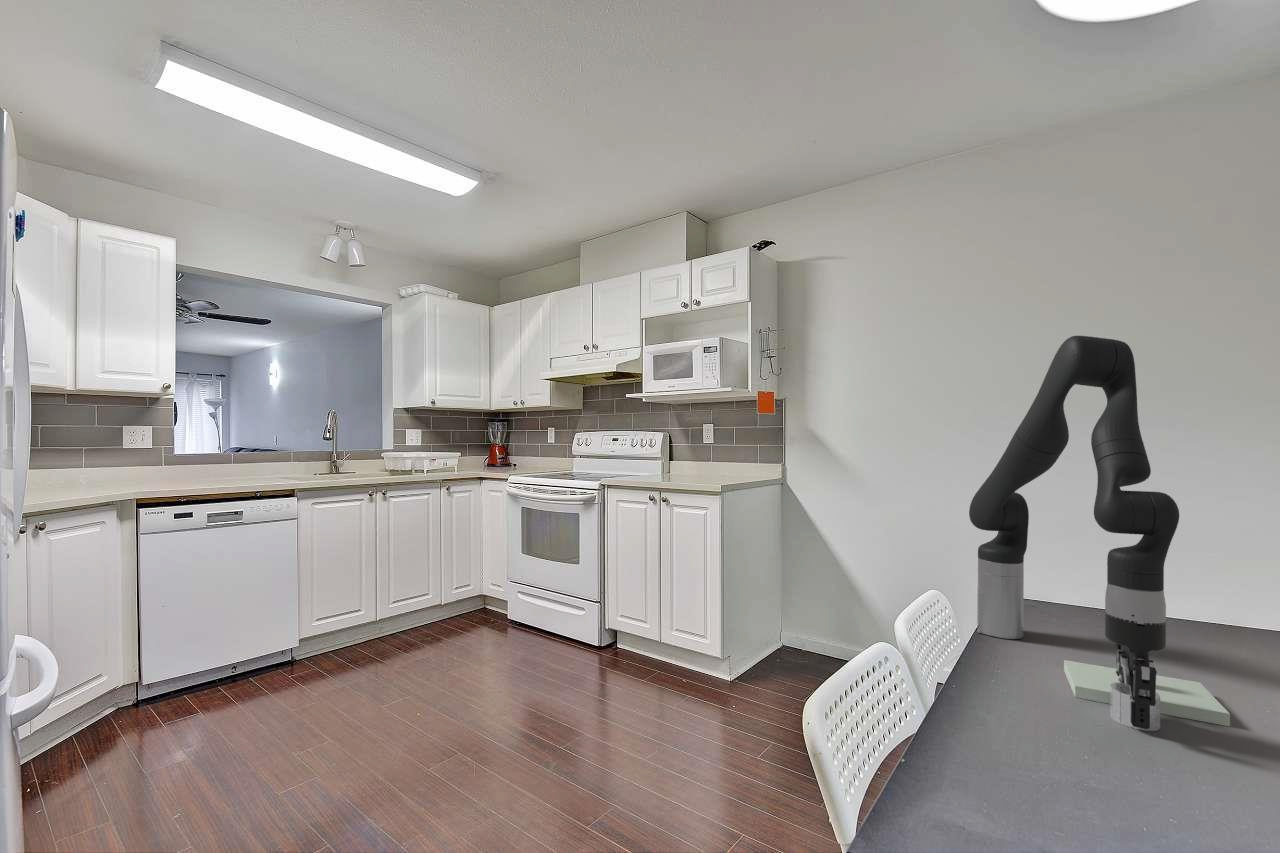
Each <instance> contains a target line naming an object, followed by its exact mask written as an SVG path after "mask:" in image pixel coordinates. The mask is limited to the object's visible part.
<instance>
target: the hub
mask: <svg viewBox="0 0 1280 853" xmlns="http://www.w3.org/2000/svg"><path fill="white" fill-rule="evenodd" d="M1139 695H1142V696H1146V695H1145V690H1142V689H1140V690H1139ZM1129 696H1130V691H1129V687H1128V686H1126V685H1125V683H1112V684H1110V704H1109V715H1110V718H1111V719H1112V720H1113V721H1115V722H1116V723H1117V724H1119V725H1122V726H1124V727H1128V728H1131V729H1135V730H1140V731H1144V732H1145V731H1146V732H1156V731H1158V730H1160V729H1161V713H1160V696H1159V694H1158V693H1157V692H1156V694H1155V701H1156V704H1155V706H1150V728H1149V729H1144V728H1139V727H1134V726H1133V725H1132V723H1131V700H1130V698H1129Z"/></svg>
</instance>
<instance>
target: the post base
mask: <svg viewBox="0 0 1280 853" xmlns="http://www.w3.org/2000/svg"><path fill="white" fill-rule="evenodd" d="M1063 671H1064V673H1065V677H1066V678H1067V681H1068V683H1069V686H1070V688H1071V691H1072V693H1073V695H1074V698H1077V699H1081V700H1083V699H1084V700H1088V701H1093V702H1099V703H1103V704H1109V705H1110V684H1112V683H1119V681H1118V678H1119V676H1117V674H1116V671H1117V668H1116V667H1115V668H1114V667H1107V666H1102V665H1097V664H1090V663H1083V662H1078V661H1072V660H1066V659H1064V660H1063ZM1156 692H1157V693H1158V694H1159V696H1160V715H1161V714H1162V715H1167V716H1172V717H1178V718H1183V719H1189V720H1194V721H1199V722H1204V723H1210V724H1214V725H1215V724H1216V725H1219V726H1226V727H1231V714H1230V712H1229V711H1228V710H1227V709H1226V708H1225V706H1223V705H1222V703H1220V702H1219V701H1218V700H1217V698H1215V697H1214V696H1213V694H1212V693H1211V692H1210V691H1209V690H1208V689H1207V688H1206V687H1205V686H1204V685H1203V684H1202V682H1200V681H1199V682H1198V681H1193V680H1188V679H1180V678H1174V677H1170V676H1169V677H1168V676H1163V675H1158V674H1156Z"/></svg>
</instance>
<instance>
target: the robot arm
mask: <svg viewBox="0 0 1280 853" xmlns="http://www.w3.org/2000/svg"><path fill="white" fill-rule="evenodd" d="M1054 354H1055V355H1054V357H1053V359H1052V361H1051V362H1050V364H1049V367H1048V368H1047V369H1048V370H1047V373H1046V374H1045V377H1044V379H1043V381H1042V383H1041V385H1040V388H1039V390H1038V392H1037V394H1036V396H1035V398H1034V400H1033V402H1032V403H1031V405H1030V406H1029V407H1030V408H1029V409H1028V411H1027V413H1026V414H1025V415H1024V417H1023V419H1022V421H1021V423H1020V424H1019V425H1018V427H1017V429H1016V430H1015V432H1014V433H1013V436H1012V437H1011V439H1010V441H1009V443H1008V445H1007V447H1006V448H1005V450H1004V452H1003V454H1002V456H1001V457H1000V458H999V460H998V462H997V464H996V466H995V467H994V469H993V470H992V471H991V473H990V475H989V476H988V477H987V478H986V479H985V481H984V482H983V483H982V485H981V486H980V487H979V488H978V490H977V491H976V493H975V494H974V496H973V497H972V498H971V502H970V506H969V511H968V512H969V513H968V514H969V515H968V516H969V520H970V522H971V524H972V525H973V526H974V527H975V528H977V529H979V530H982V531H988V532H997V535H996V536H995V537H994V538H993V539H991V540H990V541H987V542H985V543H982V544H980V545H979V546H978V548H977V595H976V596H977V599H976V600H977V601H976V602H977V603H976V604H977V608H976V611H977V613H976V614H977V615H976V616H977V617H976V619H977V620H976V621H977V622H976V623H977V625H976V628H978V626H979V625H980V626H979V628H978V630H977V633H978V634H984V635H986V636H990V637H994V638H999V639H1003V640H1006V639H1007V640H1019V639H1023V637H1024V597H1025V596H1024V593H1025V592H1024V587H1025V586H1024V580H1025V578H1024V575H1025V574H1024V569H1025V568H1024V563H1025V561H1024V559H1025V554H1026V552H1027V550H1028V549H1027V548H1028V536H1029V534H1028V532H1029V523H1030V522H1029V518H1030V516H1029V514H1030V513H1029V512H1030V511H1029V507H1028V503H1027V500H1026V499H1025V497H1024V496H1023V495H1022V494H1021V493H1018V492H1017V491H1018V490H1019V489H1021V488H1022V487H1024V486H1026V485H1027V484H1028V483H1030V482H1032V481H1033V480H1036V479H1038V478H1039V477H1041V476H1042V475H1044V474H1045V473H1046V472H1048V471H1049V470H1051V468H1053V466H1054V465H1055V463H1056V462H1057V461H1058V459H1059V457H1060V456H1061V455H1062V453H1063V452H1064V450H1065V449H1066V447H1067V445H1068V443H1069V438H1070V432H1069V427H1068V422H1067V419H1066V414H1065V409H1064V408H1065V406H1064V405H1065V404H1064V403H1065V400H1066V398H1067V396H1068V394H1069V392H1070V391H1071V389H1072V388H1073V387H1074V386H1075V385H1079V386H1086V387H1094V388H1095V387H1096V388H1102V390H1103V392H1104V394H1105V397H1106V406H1105V409H1104V410H1103V412H1102V413H1101V416H1100V417H1099V418H1098V420H1097V422H1096V423H1095V426H1094V427H1093V429H1092V433H1091V437H1090V439H1091V441H1090V442H1091V450H1092V454H1093V458H1094V463H1095V466H1096V467H1095V468H1096V472H1097V474H1096V475H1097V484H1096V485H1097V486H1096V494H1095V500H1094V505H1093V517H1094V520H1095V522H1096V523H1097V524H1098V526H1099V527H1100V528H1101V529H1102V530H1104V531H1106V532H1108V533H1113V534H1125V535H1126V534H1127V535H1139V536H1140V535H1142V537H1141V538H1140V540H1139V541H1137V543H1136V544H1134V545H1128V546H1121V547H1120V546H1119V547H1115V548H1112V549H1109V551H1108V553H1107V558H1106V560H1107V562H1106V566H1107V568H1106V570H1107V571H1106V575H1107V577H1106V578H1107V579H1106V581H1107V582H1106V583H1107V584H1106V590H1105V598H1104V599H1105V600H1104V602H1105V605H1104V614H1105V615H1104V617H1105V618H1104V621H1105V622H1104V627H1105V629H1104V634H1105V635H1104V636H1105V638H1106V639H1107V640H1108V641H1110V642H1111V643H1114V644H1115V648H1116V649H1115V650H1116V651H1115V656H1116V661H1115V662H1116V669H1117V671H1116V674H1117V676H1119V678H1118V681H1119V683H1125V685H1126V686H1128V687H1129V691H1130V696H1129V698H1130V700H1131V723H1132V725H1133V726H1134V727H1139V728H1144V729H1149V728H1150V706H1155V704H1156V701H1155V694H1156V675H1158V674H1157V673H1158V672H1157V669H1156V667H1155V665H1154V660H1153V659H1150V655H1149V652H1151V651H1157V652H1158V651H1162V650H1164V649H1165V648H1166V646H1167V604H1166V599H1165V598H1166V597H1165V590H1164V589H1165V588H1164V586H1165V585H1164V584H1165V582H1164V580H1165V577H1164V576H1165V574H1164V573H1165V570H1164V569H1165V562H1166V559H1167V556H1168V552H1169V549H1170V547H1171V544H1172V541H1173V538H1174V535H1175V533H1176V531H1177V528H1178V525H1179V520H1180V511H1179V507H1178V504H1177V503H1176V501H1175V500H1174V499H1173V497H1171V496H1170V495H1168V494H1167V493H1164V492H1161V491H1147V490H1145V491H1143V490H1124V489H1123V490H1122V489H1121V488H1122V487H1128V486H1133V485H1137V484H1140V483H1143V482H1146V480H1148V479H1149V477H1150V476H1151V464H1150V460H1149V458H1148V455H1147V450H1146V447H1145V444H1144V440H1143V437H1142V434H1141V430H1140V423H1139V414H1138V413H1139V412H1138V393H1137V392H1138V390H1137V376H1136V364H1135V356H1134V354H1133V350H1132V348H1131V346H1129V344H1128V343H1127V342H1124V341H1122V340H1119V339H1115V338H1114V339H1113V338H1106V337H1098V336H1096V337H1095V336H1086V335H1072V336H1070V337H1068V338H1067V339H1065V340H1064V341H1063V343H1061V345H1060V346H1059V347H1058V349H1057V351H1056V353H1054ZM1140 689H1142V690H1145V695H1146V696H1142V695H1139V690H1140Z"/></svg>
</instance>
